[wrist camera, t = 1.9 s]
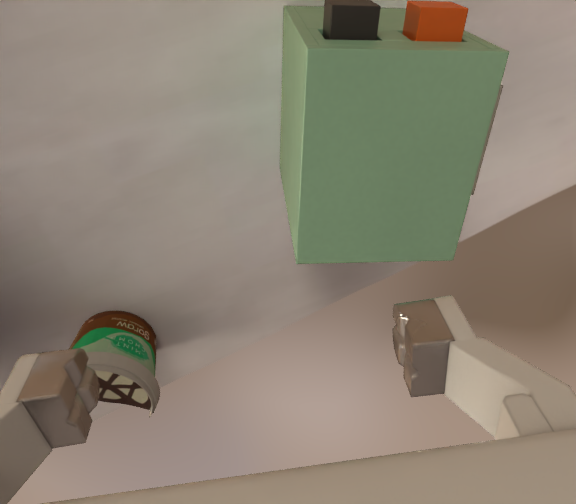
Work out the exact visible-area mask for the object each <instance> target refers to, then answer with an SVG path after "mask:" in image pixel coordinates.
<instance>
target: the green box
mask: <svg viewBox="0 0 576 504" xmlns="http://www.w3.org/2000/svg"><path fill="white" fill-rule="evenodd" d="M405 14H406V9H400V8H381V9H380V17H379V25H378V33H377V40H325V39H324V37H323V36H322V34H323V19H324V7H317V6H284V17H283V57H282V98H281V138H280V172H281V178H282V184H283V190H284V196H285V201H286V207H287V213H288V219H289V225H290V230H291V236H292V242H293V248H294V254H295V260H296V264H319V263H362V262H405V261H445V260H446V261H447V260H453V259H454V255H455V251H456V248H457V244H458V240H459V237H460V233H461V229H462V225H463V222H464V218H465V214H466V211H467V207H468V203H469V200H470V196H471V195H473V194H474V190H475V186H476V183H477V179H478V175H479V172H480V168H481V164H482V161H483V157H484V153H485V150H486V146H487V142H488V139H489V135H490V132H491V128H492V124H493V121H494V117H495V113H496V110H497V106H498V102H499V99H500V95H501V91H502V88H503V85H501V81H502V77H503V74H504V70H505V66H506V63H507V59H508V55H509V51H507V50H505V49H502V48H500V47H498V46H496V45H494V44H492V43H490V42H488V41H485V40H483V39H481V38H479V37H477V36H475V35H473V34H471V33H469V32H467V31H465V30H464V32H463V36H462V41H461V42H436V41H412V40H410V39H409V38H407V37H406V36H404V35H403V27H404V20H405Z"/></svg>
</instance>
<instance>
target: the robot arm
mask: <svg viewBox="0 0 576 504" xmlns="http://www.w3.org/2000/svg"><path fill="white" fill-rule="evenodd" d="M393 318H394V320H395V323H396V325H395V326H394V328H393V342H394V349H395V353H396V356H397V360H398V362H399V364H400V365H402V366H403V367H404V379H405V382H406V385H407V387H408V390H409V393H410V395H411V397H418V396H426V395H435V394H444V393H445V396H446V397H447V398H448V399H450V400H451V401H452V402H453V403H454V404H456V405H457V406H458V407H459V408H460V409H461V410H463V411H464V412H465V413H466V414H467V415H468V416H470V417H471V418H472V419H473V420H474V421H476V422H477V423H478V424H479V425H480V426H481V427H483V428H484V429H485V430H486V431H487V432H488V433H490V434H491V435H492V436H493V437H494V438H495V439H494V440H492V441H485V442H478V443H470V444H463V445H456V446H449V447H442V448H435V449H428V450H420V451H413V452H407V453H399V454H392V455H385V456H378V457H370V458H363V459H356V460H350V461H342V462H335V463H328V464H321V465H313V466H306V467H299V468H292V469H285V470H278V471H270V472H263V473H256V474H249V475H242V476H235V477H228V478H221V479H214V480H206V481H199V482H192V483H185V484H178V485H171V486H164V487H157V488H150V489H142V490H135V491H128V492H121V493H114V494H107V495H99V496H93V497H85V498H78V499H71V500H64V501H57V502H50V503H42V504H576V394H575V393H574V391H573V390H572V389H571V387H570V386H569V385H567V384H565V383H564V382H562V381H560V380H558V379H557V378H555V377H553V376H551V375H549V374H548V373H546V372H544V371H542V370H541V369H539V368H537V367H535V366H533V365H532V364H530V363H528V362H526V361H524V360H523V359H521V358H519V357H517V356H516V355H514V354H512V353H510V352H509V351H507V350H505V349H503V348H501V347H500V346H498V345H496V344H494V343H493V342H490V341H489V340H487V339H485V338H484V337H481V338H477V336H476V334H475V333H474V331H473V330H472V328H471V326H470V324H469V322H468V321H467V319H466V317H465V316H464V314H463V312H462V310H461V309H460V307H459V305H458V304H457V302H456V300H455V298H454V297H452V296H451V295H450V296H444V297H438V298H432V299H426V300H420V301H413V302H406V303H399V304H394V306H393ZM88 359H89V358H88V356H87V354H86V352H85V350H84V349H81V348H76V349H68V350H59V351H50V352H42V353H37V354H28V355H23V356H21V357H20V358H19V359H18V360H17V362H16V364H15V366H14V368H13V370H12V372H11V374H10V375H9V377H8V379H7V381H6V383H5V385H4V387H3V389H2V391H1V393H0V504H7V503H8V502H9V501H10V500H11V498H12V497H13V496H14V495H15V494H16V493H17V491H18V490H19V489H20V488H21V487H22V485H23V484H24V483H25V482H26V481H27V480H28V478H29V477H30V476H31V475H32V474H33V472H34V471H35V470H36V469H37V468H38V467H39V465H40V464H41V463H42V462H43V461H44V459H45V458H46V457H47V456H48V455H49V454H50V452H51V451H52V448H57V447H63V446H69V445H75V444H81V443H85V442H86V439H87V436H88V433H89V430H90V426H91V423H92V419H91V417H90V415H89V413H90V412H91V411H92V410H93V409H94V408H95V407H96V406H97V403H98V399H99V389H100V385H99V380H98V376H97V374H96V372H95V370H93V369H92V368H90V367H88V366H87V362H88Z"/></svg>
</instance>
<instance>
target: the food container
mask: <svg viewBox="0 0 576 504" xmlns="http://www.w3.org/2000/svg"><path fill="white" fill-rule="evenodd" d="M76 348H81V349H84V350H85V352H86V354H87V356H88V358H89V359H88V362H87V366H88V367H90V368H92V369H93V370H95V372H96V374H97V376H98V380H99V385H100V389H99V399H98V400H99V401H103V402H111V403H121V404H127V405H132V406H136V407H140V408H144V409H148V410H150V416H149V417H151V414H152V413H154V410H155V408H156V405H157V403H158V400H159V397H160V388H159V385H158V382H157V380H156V378H155V364H156V335H155V333H154V331H153V329H152V327H151V326H150V325H149V324H148V323H147V322H146V321H145V320H144V319H142V318H140V317H139V316H137V315H134V314H132V313H128V312H124V311H106V312H102V313H98V314H96V315H94V316H92V317H90V318H89V319H88V320H87V321H85V323H84V324H83V325H82V327H81V329H80V330H79V332H78V334H77V336H76V337H75V339H74V341H73V343H72V345H71V346H70V348H69V349H76Z"/></svg>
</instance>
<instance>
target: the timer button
mask: <svg viewBox="0 0 576 504" xmlns="http://www.w3.org/2000/svg"><path fill="white" fill-rule="evenodd" d="M380 9H381V7H380V6H379V5H377V4H376V3H374V2H372V1H371V0H325V4H324V19H323V34H322V36H323V37H324V39H325V40H377V33H378V25H379V17H380Z"/></svg>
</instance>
